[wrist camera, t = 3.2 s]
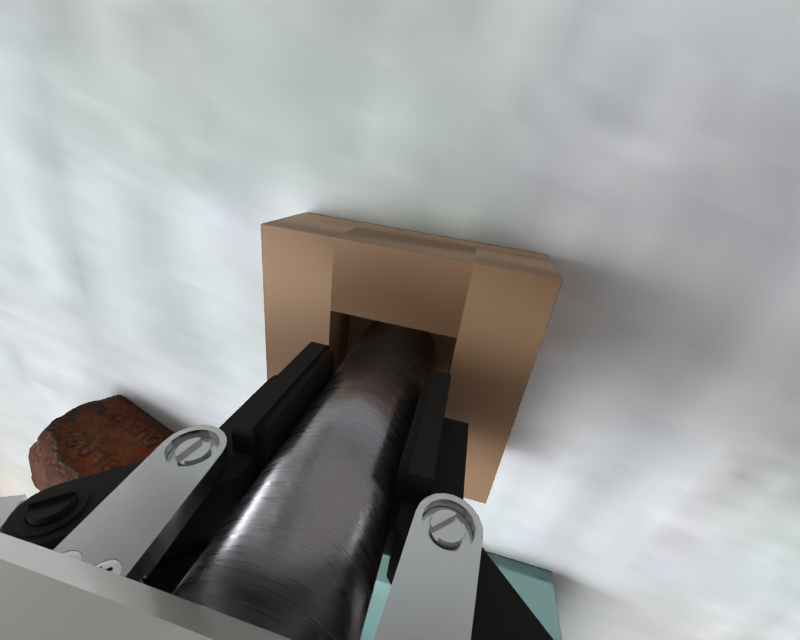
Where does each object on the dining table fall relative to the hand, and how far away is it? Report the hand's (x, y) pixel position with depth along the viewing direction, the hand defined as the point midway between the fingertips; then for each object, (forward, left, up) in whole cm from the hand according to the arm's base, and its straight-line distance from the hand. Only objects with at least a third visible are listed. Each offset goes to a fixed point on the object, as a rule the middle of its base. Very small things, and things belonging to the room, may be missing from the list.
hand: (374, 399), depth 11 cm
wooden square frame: (0, 0, -4) cm, 4 cm away
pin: (0, 0, -3) cm, 3 cm away
